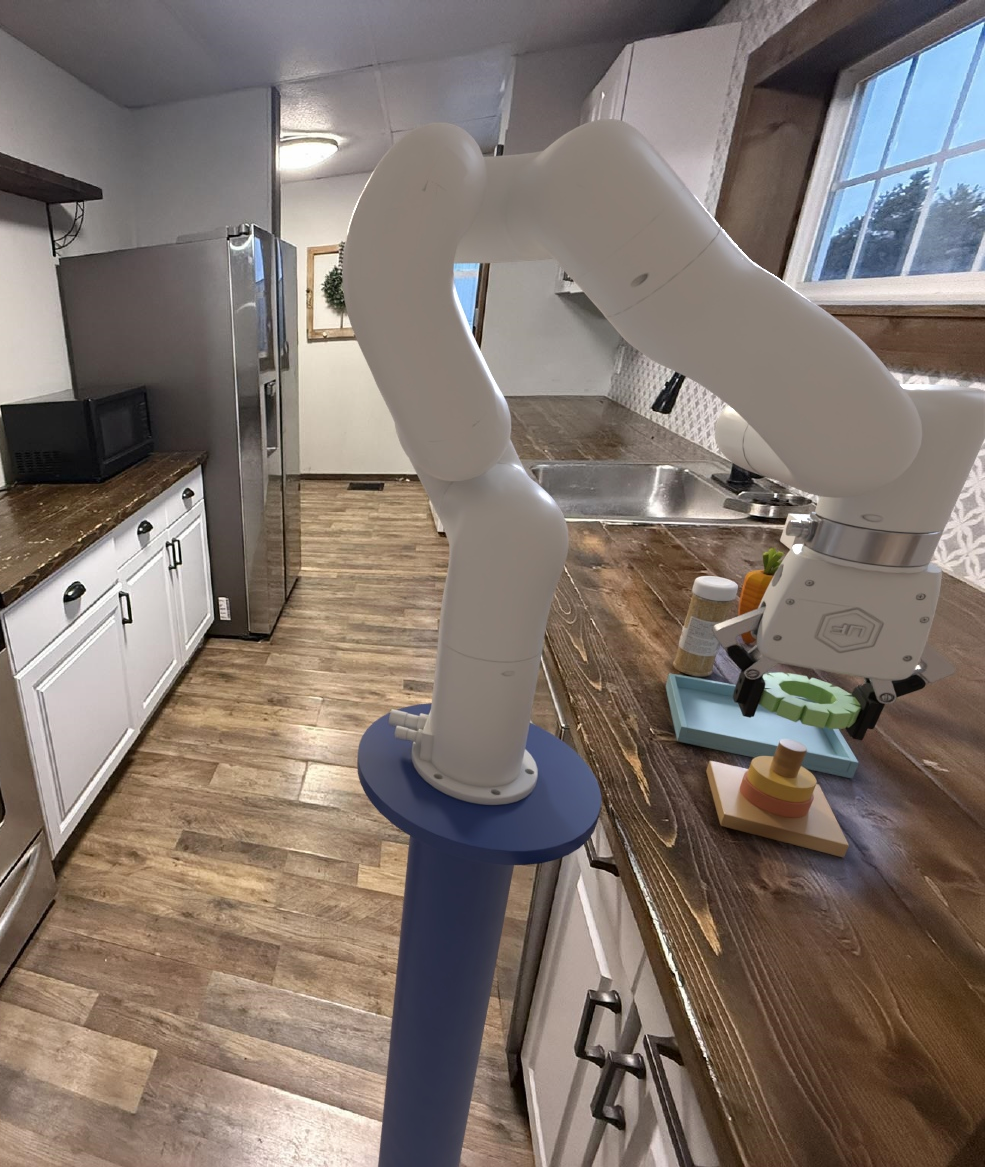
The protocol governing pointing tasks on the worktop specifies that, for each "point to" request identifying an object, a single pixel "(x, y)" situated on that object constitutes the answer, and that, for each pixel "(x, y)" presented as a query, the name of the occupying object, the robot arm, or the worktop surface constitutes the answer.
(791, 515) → the white cube
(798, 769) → the stand
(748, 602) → the carrot
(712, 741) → the tray
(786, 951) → the worktop surface
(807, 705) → the ring
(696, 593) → the sprinkles bottle
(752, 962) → the worktop surface
